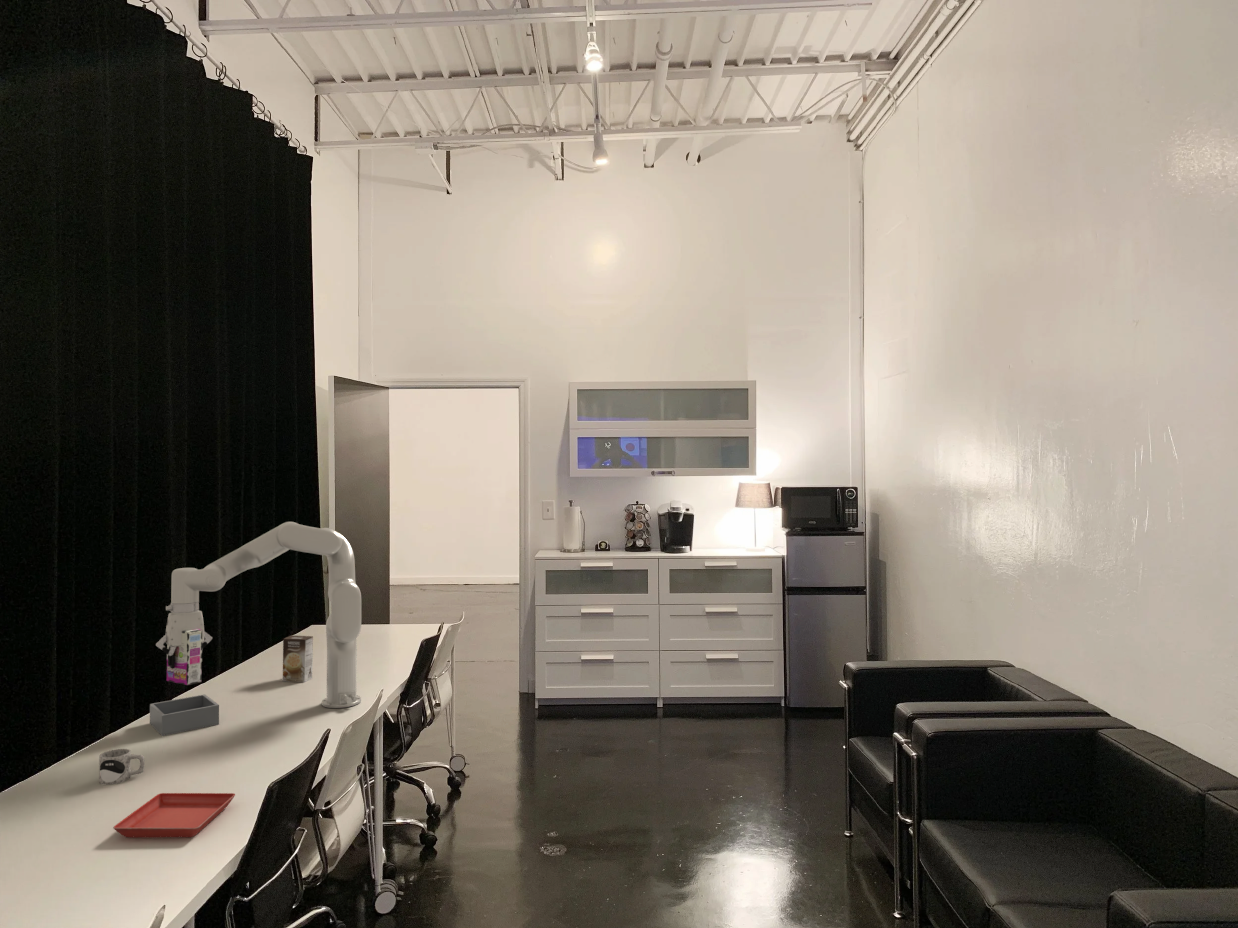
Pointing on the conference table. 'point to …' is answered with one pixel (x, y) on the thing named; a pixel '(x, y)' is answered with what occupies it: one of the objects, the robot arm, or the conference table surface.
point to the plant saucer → (174, 815)
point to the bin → (184, 714)
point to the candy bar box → (187, 659)
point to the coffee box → (297, 658)
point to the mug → (117, 766)
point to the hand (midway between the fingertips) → (184, 665)
